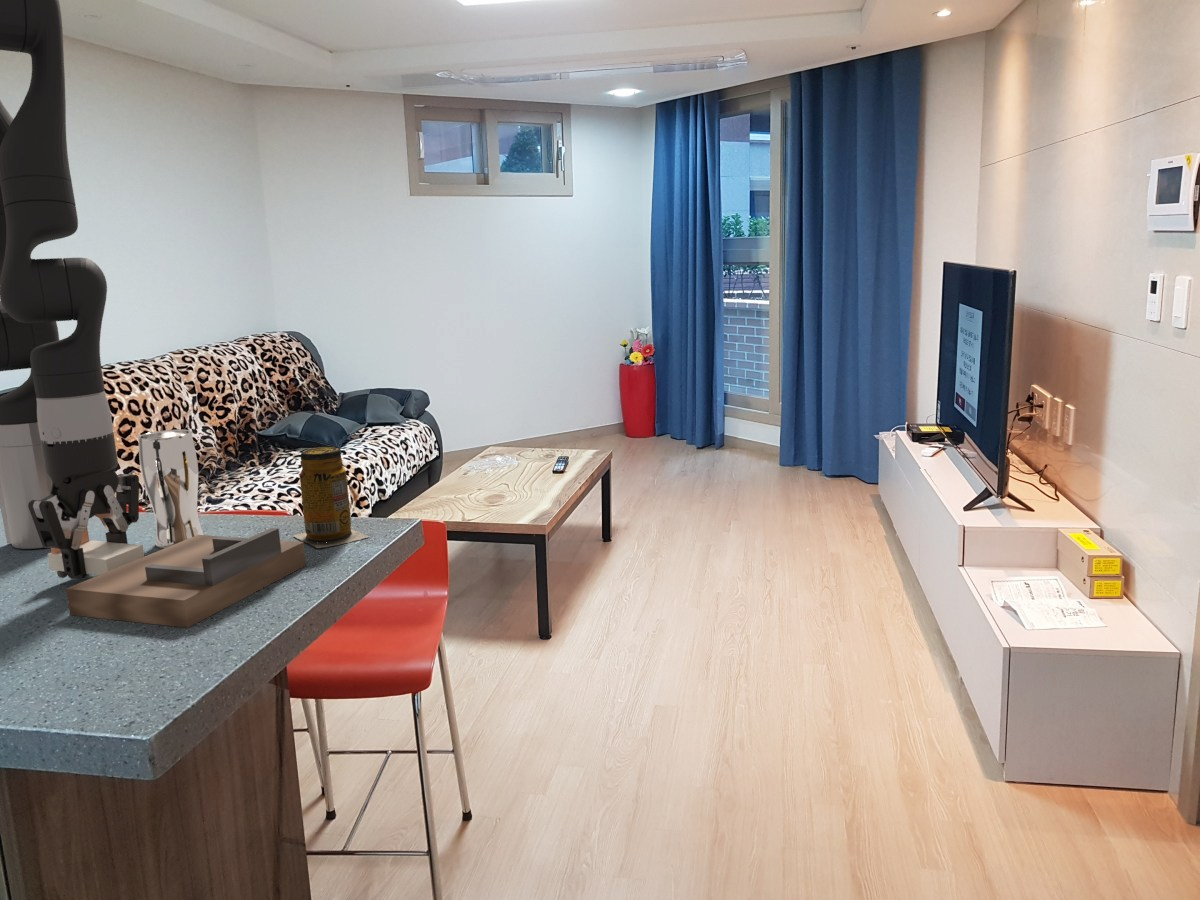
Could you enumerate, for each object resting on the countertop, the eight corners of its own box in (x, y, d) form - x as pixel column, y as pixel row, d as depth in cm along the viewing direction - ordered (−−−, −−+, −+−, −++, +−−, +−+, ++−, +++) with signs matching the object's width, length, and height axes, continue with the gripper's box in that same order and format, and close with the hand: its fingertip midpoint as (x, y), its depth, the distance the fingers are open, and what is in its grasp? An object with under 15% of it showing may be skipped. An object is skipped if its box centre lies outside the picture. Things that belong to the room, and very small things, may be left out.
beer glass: (218, 538, 129) (204, 431, 126) (172, 552, 123) (156, 440, 120) (187, 531, 133) (172, 427, 130) (141, 545, 127) (124, 437, 124)
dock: (70, 614, 102) (61, 562, 101) (201, 557, 121) (195, 512, 119) (188, 627, 97) (180, 572, 96) (306, 565, 116) (300, 518, 114)
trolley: (51, 579, 112) (44, 534, 111) (89, 564, 117) (83, 521, 116) (109, 585, 109) (102, 539, 108) (146, 570, 114) (139, 526, 113)
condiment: (343, 525, 132) (334, 442, 130) (369, 538, 126) (361, 451, 123) (292, 537, 128) (282, 451, 125) (317, 550, 122) (307, 460, 119)
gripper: (102, 420, 117) (121, 549, 121) (-3, 444, 104) (22, 587, 108) (149, 421, 115) (168, 553, 119) (47, 446, 102) (72, 593, 105)
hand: (98, 569), depth 113 cm, fingers closed on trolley, 5 cm apart
